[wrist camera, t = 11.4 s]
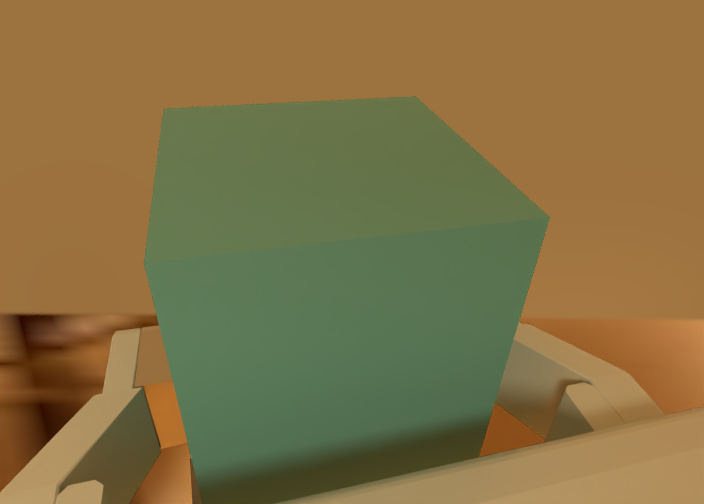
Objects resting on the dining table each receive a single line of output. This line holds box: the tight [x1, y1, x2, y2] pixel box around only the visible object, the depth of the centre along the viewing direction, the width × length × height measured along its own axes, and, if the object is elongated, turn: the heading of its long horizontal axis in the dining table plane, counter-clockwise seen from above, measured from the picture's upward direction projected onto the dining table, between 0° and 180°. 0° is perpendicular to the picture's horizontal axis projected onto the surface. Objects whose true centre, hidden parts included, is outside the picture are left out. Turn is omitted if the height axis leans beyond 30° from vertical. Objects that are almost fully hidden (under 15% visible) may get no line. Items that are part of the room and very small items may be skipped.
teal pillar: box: [144, 96, 550, 504], centre depth 11 cm, size 5×5×10 cm
